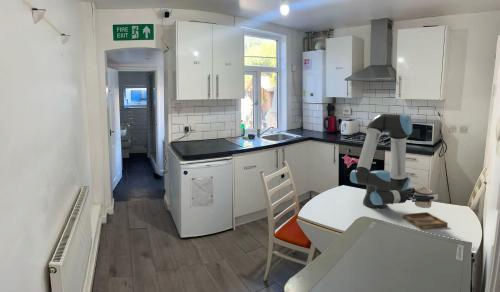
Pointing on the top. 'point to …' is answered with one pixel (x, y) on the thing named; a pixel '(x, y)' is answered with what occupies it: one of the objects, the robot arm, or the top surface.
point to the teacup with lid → (423, 192)
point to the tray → (425, 220)
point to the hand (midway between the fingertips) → (430, 194)
